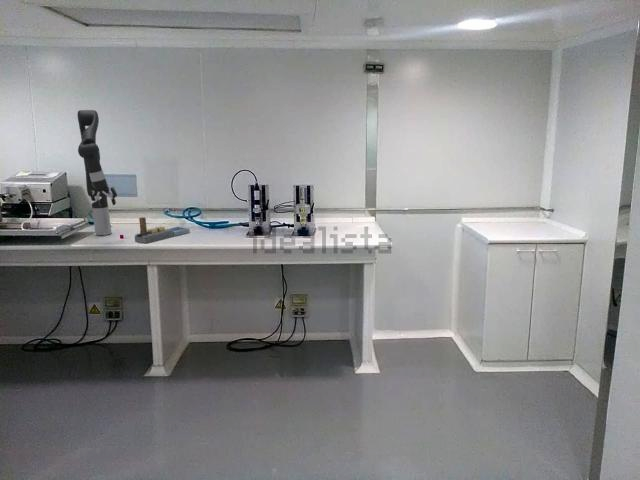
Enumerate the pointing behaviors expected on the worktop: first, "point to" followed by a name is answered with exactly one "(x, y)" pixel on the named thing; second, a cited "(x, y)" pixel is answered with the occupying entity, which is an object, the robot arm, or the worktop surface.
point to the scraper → (143, 226)
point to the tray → (179, 230)
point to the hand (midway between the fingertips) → (107, 205)
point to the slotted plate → (154, 236)
